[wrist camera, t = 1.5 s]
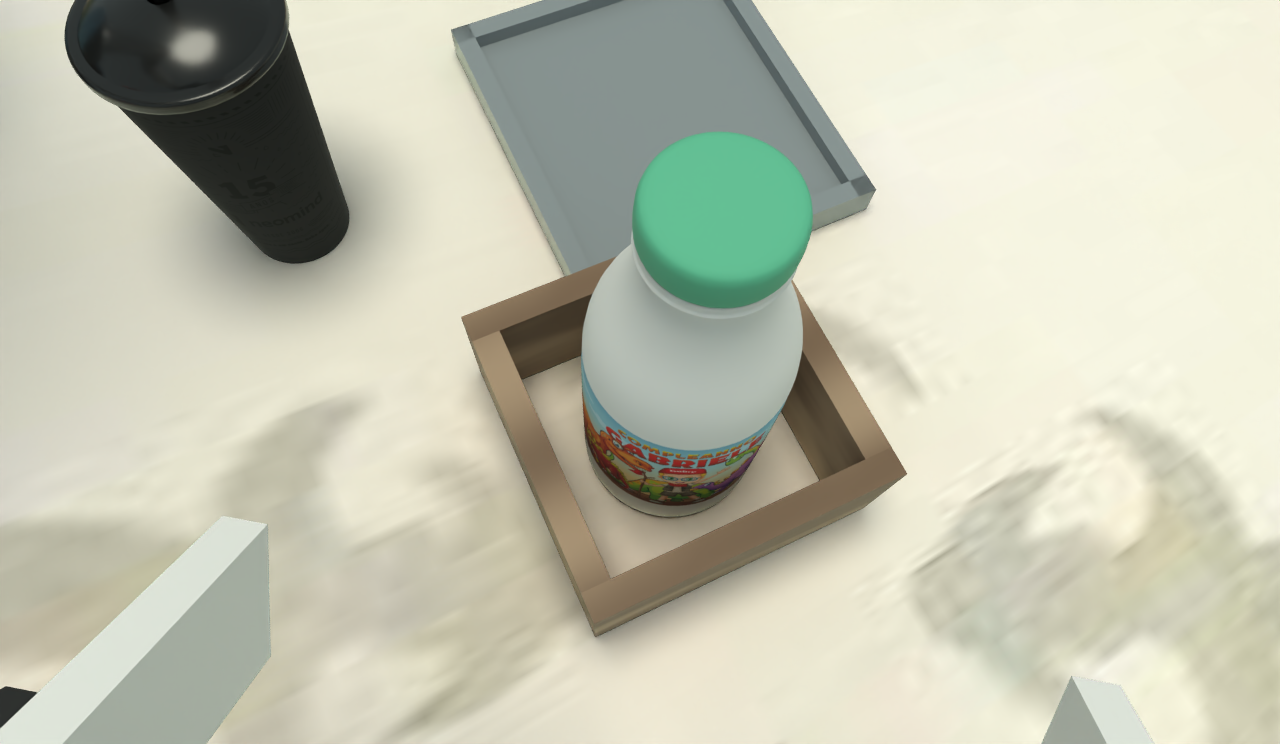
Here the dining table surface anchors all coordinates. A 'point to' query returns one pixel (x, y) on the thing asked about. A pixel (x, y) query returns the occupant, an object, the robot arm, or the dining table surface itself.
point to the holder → (849, 480)
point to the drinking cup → (220, 109)
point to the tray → (640, 107)
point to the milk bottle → (696, 324)
